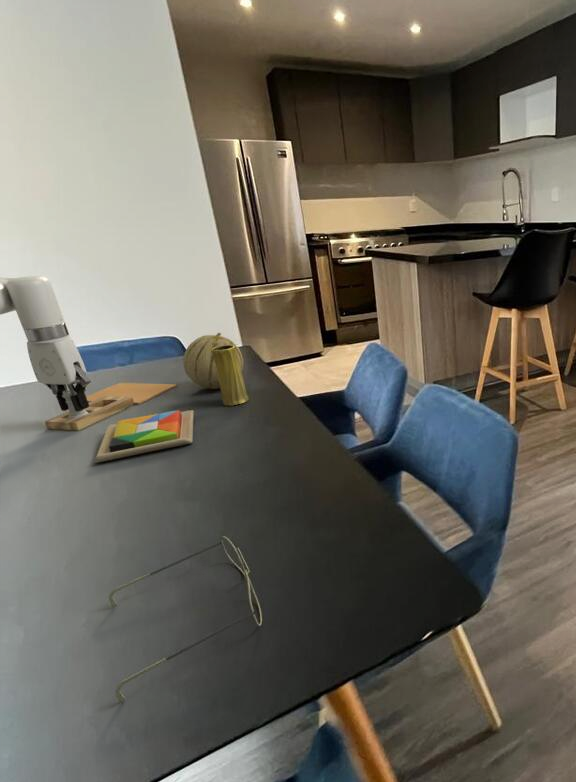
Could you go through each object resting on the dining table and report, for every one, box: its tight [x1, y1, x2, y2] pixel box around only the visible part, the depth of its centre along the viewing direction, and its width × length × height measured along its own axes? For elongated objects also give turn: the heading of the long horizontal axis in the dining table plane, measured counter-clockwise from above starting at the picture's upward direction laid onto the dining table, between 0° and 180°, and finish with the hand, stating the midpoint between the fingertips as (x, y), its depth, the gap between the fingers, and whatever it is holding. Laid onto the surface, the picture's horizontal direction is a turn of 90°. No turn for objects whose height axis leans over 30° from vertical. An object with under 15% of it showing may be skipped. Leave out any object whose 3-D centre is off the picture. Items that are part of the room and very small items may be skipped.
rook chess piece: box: [62, 389, 89, 419], centre depth 117 cm, size 4×4×8 cm
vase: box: [212, 345, 250, 407], centre depth 122 cm, size 6×6×14 cm
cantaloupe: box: [182, 332, 244, 390], centre depth 134 cm, size 15×15×15 cm
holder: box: [44, 396, 135, 432], centre depth 121 cm, size 9×16×2 cm, turn 167°
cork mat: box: [86, 382, 178, 405], centre depth 136 cm, size 20×14×1 cm
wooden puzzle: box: [93, 409, 195, 464], centre depth 106 cm, size 18×19×4 cm
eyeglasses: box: [108, 535, 263, 704], centre depth 57 cm, size 16×15×5 cm
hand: (75, 408), depth 117 cm, fingers closed on rook chess piece, 3 cm apart
